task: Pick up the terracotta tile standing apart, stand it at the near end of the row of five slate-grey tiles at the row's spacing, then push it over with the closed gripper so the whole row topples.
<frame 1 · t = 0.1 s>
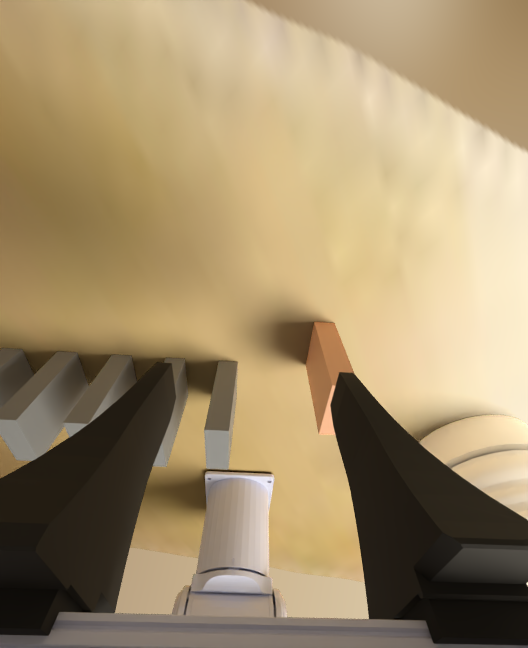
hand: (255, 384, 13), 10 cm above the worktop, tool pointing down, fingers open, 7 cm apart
domino 1: (228, 380, 26), on the worktop
domino 5: (22, 368, 25), on the worktop
domino 4: (74, 371, 25), on the worktop
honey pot: (467, 452, 32), on the worktop
domino 2: (177, 377, 26), on the worktop
domino 3: (126, 374, 25), on the worktop
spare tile: (319, 345, 24), on the worktop
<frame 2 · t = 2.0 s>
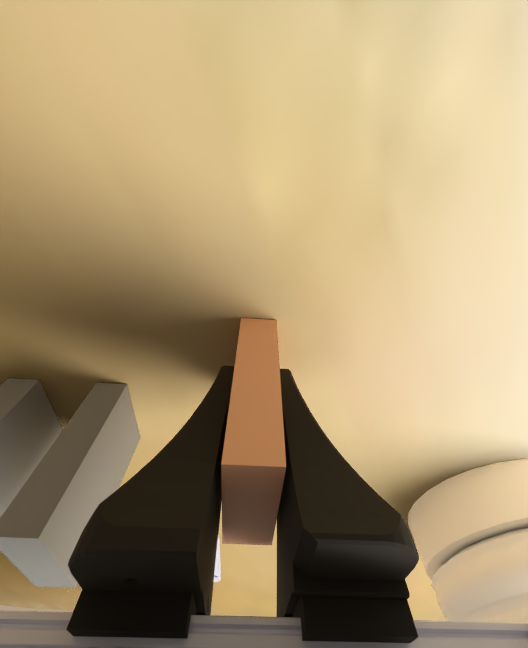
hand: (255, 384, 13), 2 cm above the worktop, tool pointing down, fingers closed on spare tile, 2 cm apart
domino 1: (119, 411, 16), on the worktop
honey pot: (492, 505, 22), on the worktop
domino 2: (38, 408, 16), on the worktop
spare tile: (256, 357, 14), on the worktop, touching gripper
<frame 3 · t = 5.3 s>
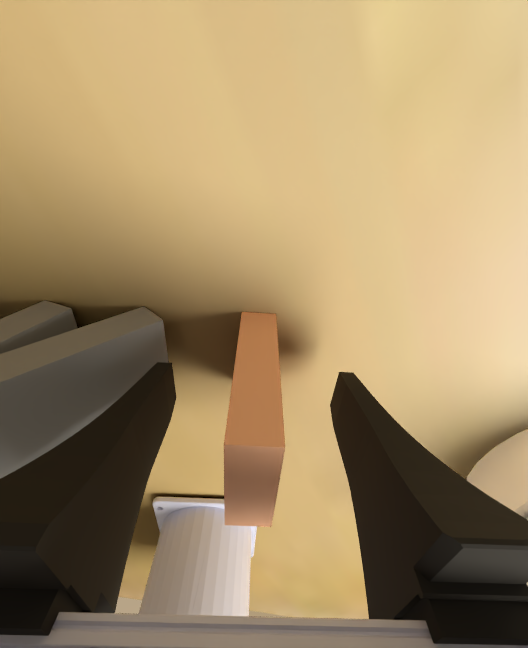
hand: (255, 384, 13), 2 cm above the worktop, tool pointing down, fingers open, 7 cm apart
domino 1: (159, 352, 14), point 1 cm above the worktop, tilted 42°
domino 2: (71, 343, 14), on the worktop, tilted 21°
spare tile: (256, 350, 15), on the worktop
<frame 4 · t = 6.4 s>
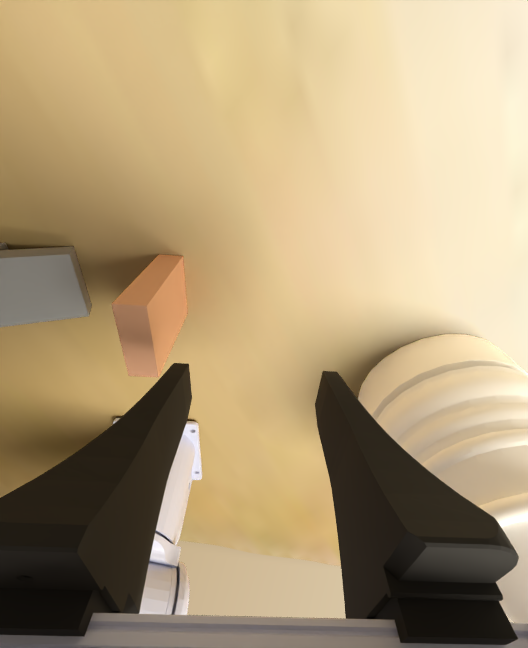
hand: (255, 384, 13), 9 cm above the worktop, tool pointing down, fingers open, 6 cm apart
domino 1: (81, 282, 19), point 1 cm above the worktop, tilted 69°, touching domino 2
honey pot: (428, 391, 26), on the worktop
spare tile: (174, 285, 20), on the worktop
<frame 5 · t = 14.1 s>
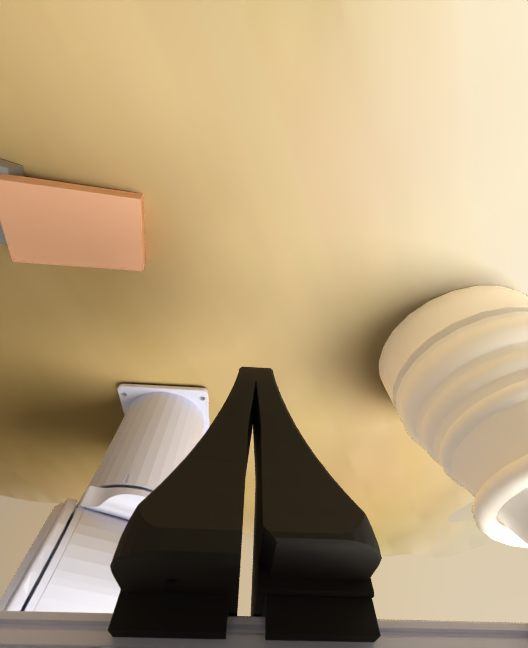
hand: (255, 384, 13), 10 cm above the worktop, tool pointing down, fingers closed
domino 1: (18, 206, 17), point 1 cm above the worktop, tilted 79°, touching domino 2, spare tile
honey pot: (454, 353, 24), on the worktop
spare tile: (143, 233, 18), point 1 cm above the worktop, tilted 76°, touching domino 1
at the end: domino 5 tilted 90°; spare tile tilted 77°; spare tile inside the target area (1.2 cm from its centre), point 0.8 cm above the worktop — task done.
